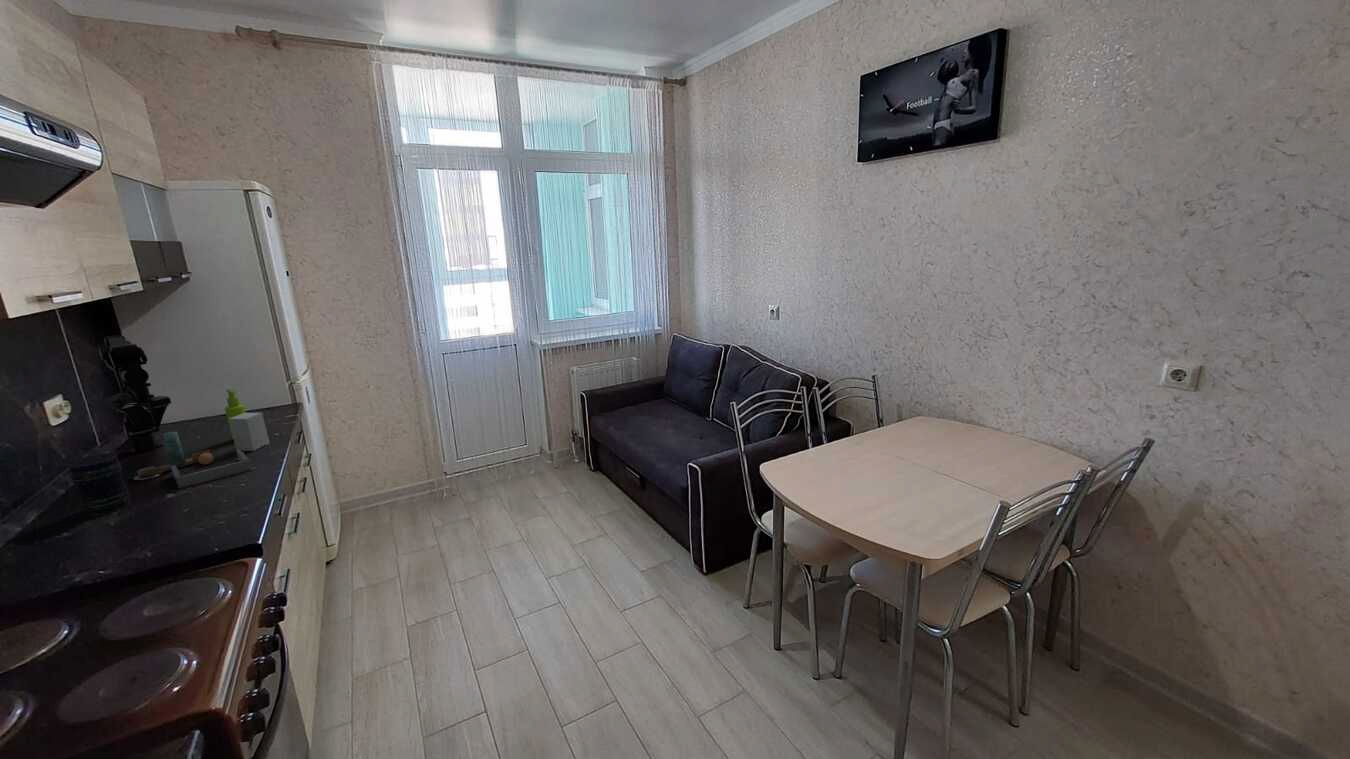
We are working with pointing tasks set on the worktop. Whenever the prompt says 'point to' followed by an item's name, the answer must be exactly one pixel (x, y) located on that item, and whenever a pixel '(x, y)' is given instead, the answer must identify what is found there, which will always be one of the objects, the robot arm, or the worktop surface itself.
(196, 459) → the lever
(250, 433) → the supplement box
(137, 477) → the pivot base
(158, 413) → the robot arm
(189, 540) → the worktop surface
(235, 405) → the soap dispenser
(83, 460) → the storage jar
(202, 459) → the ball
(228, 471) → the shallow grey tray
